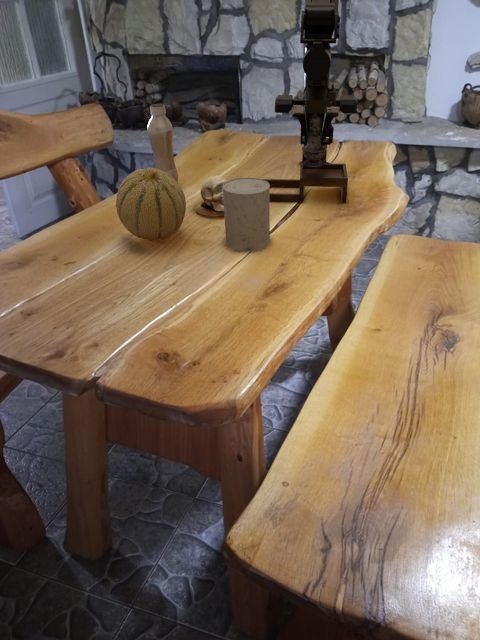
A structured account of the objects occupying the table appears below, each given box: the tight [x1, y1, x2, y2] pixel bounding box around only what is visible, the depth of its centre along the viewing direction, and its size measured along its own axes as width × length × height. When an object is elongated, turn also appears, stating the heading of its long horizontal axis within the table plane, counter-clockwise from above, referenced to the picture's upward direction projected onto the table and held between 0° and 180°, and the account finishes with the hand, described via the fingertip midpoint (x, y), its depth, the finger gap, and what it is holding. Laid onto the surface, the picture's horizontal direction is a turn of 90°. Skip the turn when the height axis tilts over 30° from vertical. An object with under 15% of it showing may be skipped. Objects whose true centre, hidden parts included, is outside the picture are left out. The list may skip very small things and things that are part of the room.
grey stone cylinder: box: [222, 177, 271, 253], centre depth 114 cm, size 10×10×12 cm
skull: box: [194, 175, 228, 217], centre depth 131 cm, size 12×10×10 cm
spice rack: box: [261, 162, 349, 204], centre depth 138 cm, size 23×11×6 cm, turn 86°
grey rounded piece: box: [301, 113, 326, 167], centre depth 131 cm, size 6×6×12 cm
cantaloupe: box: [115, 167, 187, 242], centre depth 115 cm, size 15×15×15 cm
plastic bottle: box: [146, 103, 179, 183], centre depth 139 cm, size 6×7×20 cm
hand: (314, 142), depth 132 cm, fingers closed on grey rounded piece, 3 cm apart
